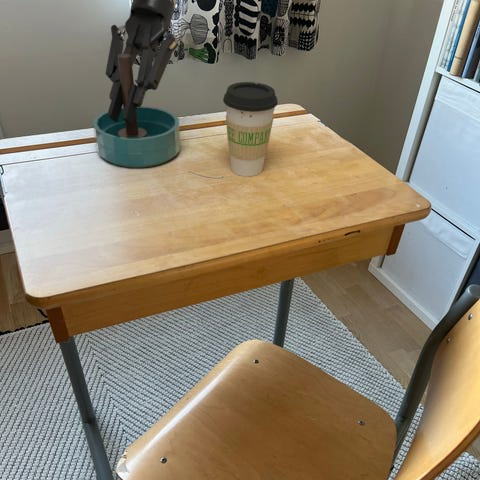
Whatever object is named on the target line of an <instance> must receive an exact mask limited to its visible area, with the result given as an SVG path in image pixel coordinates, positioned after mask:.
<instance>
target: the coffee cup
mask: <svg viewBox="0 0 480 480" xmlns="http://www.w3.org/2000/svg"><path fill="white" fill-rule="evenodd" d="M222 101H223V103H224V104H225V113H226V115H225V123H226V131H227V132H226V135H227V145H228V146H227V147H228V153H229V161H230V171H231V172H232V173H233V174H235V175H237V176H240V177H256V176H259V175H260V174H261V173H262V172H263V170H264V169H263V168H264V163H265V158H266V155H267V152H268V146H269V142H270V137H271V134H272V133H271V132H272V128H273V123H274V114H275V108H276V107H277V106H278V97H277V95H276V91H275V89H274V88H273V87H272V86H270V85H268V84H265V83H261V82H254V81H243V82H242V81H241V82H236V83H232V84H230V85H229V86H227V89H226V92H225V93H224V94H223V99H222Z"/></svg>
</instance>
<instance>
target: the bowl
mask: <svg viewBox="0 0 480 480" xmlns="http://www.w3.org/2000/svg"><path fill="white" fill-rule="evenodd" d="M108 111H109V109H108V110H106V111H103V112H101V113H99V114H97V116H96V117H94V119H93V122H92V128H93V135H94V141H95V148H96V151H97V154H98V155H99V156H100V157H101V158H102V159H104V160H105V161H107V162H109V163H111V164H113V165H115V166H119V167H123V168H131V169H140V168H141V169H143V168H152V167H156V166H160V165H163V164H166V163H167V162H169V161H170V160H173V158H174V157H176V156H177V154H178V153H179V152H180V150H181V137H180V135H181V134H180V119H179V118H178V117H177V115H176V114H174V113H173V112H171V111H169V110H166V109H163V108H159V107H154V106H147V105H141V107H137V110H136V111H137V121H138V128H142V129H144V130H146V132H147V137H143V138H125V137H118V132H119V131H120V130H121V129H124V128H126V127H125V120H124V119H123V118H122V116H123V113H124V109H123V106H122V109H121V112H120V115H119V119H118V122H114V121H113V120H112V119H111V118H110V117H109V116H108V115H107V114H108Z"/></svg>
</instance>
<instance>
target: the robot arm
mask: <svg viewBox="0 0 480 480" xmlns="http://www.w3.org/2000/svg"><path fill="white" fill-rule="evenodd" d="M177 1H178V0H132V2H131V5H130V11H129V17H128V18H127V20H126V21H125V23H124V25H120V26H117V25H116V24H113V25H111V26H110V32H111V41H110V46H109V52H108V57H107V64H106V68H105V75H106V77H107V78H108V79H109V80H110V81H111V82H112V85H111V88H110V91H109V95H108V97H109V98H108V99H110V100H111V101H110V103H109V107H108V110H109V111H108V110H107V111H108V114H107V115H108V116H109V117H110V118H111V119H112V120H113V121H114V122H118V119H119V115H120V112H121V109H122V107H123V100H122V91H121V82H120V73H119V65H118V55H119V54H130V55H131V58H132V67H133V66H134V63H135V61H136V59H137V56H139V55H140V53H141V57H140V60H139V61H140V62H139V67H138V73H137V78H136V79H135V80H134V84H132V86H131V89H130V92H129V96H128V99H127V103H126V106H125V109H124V113H123V116H122V118H123V119H124V120H125V121H126V122H127V123H128V124H129V125H132V123H133V120H134V116H135V113H136V110H137V107H141V106H143V102H144V99H145V95H146V93H147V92H148V90H152V91H156V90H157V89H158V87H159V85H160V83H161V81H162V78H163V75H164V73H165V71H166V68H167V66H168V63H169V61H170V59H171V56H172V54H173V53H174V51H175V50H176V49H177V48H178V47H179V42H178V41H177V38H176V37H175V35H174V34H173V33H169V27H170V25H171V22H172V20H173V16H174V12H175V7H176V4H177ZM126 36H127V38H126ZM124 42H125V43H124ZM124 44H125V48H124ZM159 45H160V46H159ZM158 46H159V49H158V50H157V47H158Z"/></svg>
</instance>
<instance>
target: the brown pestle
mask: <svg viewBox="0 0 480 480" xmlns="http://www.w3.org/2000/svg"><path fill="white" fill-rule="evenodd" d="M118 65H119V73H120V82H121V91H122V100H123V105H122V107H123V109H125V106H126V103H127V99H128V96H129V92H130V89H131V86H132V84H135V80H134V70H133V69H134V68H133V66H132V58H131V55H130V54H123V53H122V54H119V55H118ZM125 127H126V128H124V129H121V130H120V131H119V132H118V137H125V138H143V137H147V132H146V130H144V129H142V128H138V121H137V111H136V113H135V116H134V120H133V123H132V125H129V124H128V123H127V122H126V121H125Z"/></svg>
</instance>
